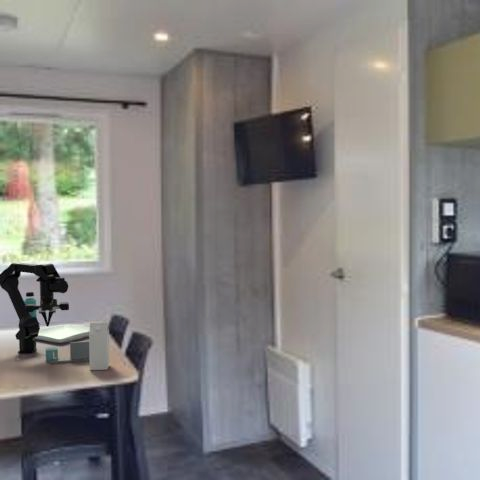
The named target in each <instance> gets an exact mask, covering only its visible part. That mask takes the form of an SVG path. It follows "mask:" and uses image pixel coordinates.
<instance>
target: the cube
mask: <svg viewBox="0 0 480 480" xmlns="http://www.w3.org/2000/svg"><path fill="white" fill-rule="evenodd" d="M50 359H59V347H58V346H49V347H45V362H49V360H50Z"/></svg>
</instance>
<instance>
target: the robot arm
mask: <svg viewBox="0 0 480 480" xmlns="http://www.w3.org/2000/svg"><path fill="white" fill-rule="evenodd" d="M21 273H28V274H34V275H35V276H36V277H38V278H37V279H36V281H35V282H37V283H39V297H40V300H39V305H36V306H34V304H26V305H25V303H24V300H25V299H24V298H23V297H22V293H21V292H20V290H19V283H20V281H19V279H20V277H21ZM65 279H66V278H65V277H61V276H60V274H59V272H58V270H57V268H56V267H55V265H54V264H53V263H43V264H34V263H27V262H26V263H25V262H20V261H19V262H12V263H11V264H10V265H9V266H8V267H7V268H5V269H4V270H3V271H2V272H1V273H0V287H1V289H2V290H4V291H5V292H6V293H7V294H8V297H9V299H10V302H11V303H12V306H13V308H14V311H15V312H16V313H15V314H16V315H17V318H18V319H19V321H18V331H17V333H16V334H15V338H16V340H17V341H18V343H19V344H18V345H19V348H18V349H19V350H18V351H17V353H18V354H21V353H22V354H23V353H24V354H31V353H34V352H35V351H37V350H38V348H37V340H36V339H35V337H38V333H39V329H41V326H40V323H39V321H38V317H37V316H36V317H32V316H30V314H29V312H33V311H34V310H36V311H38V314H41V315H42V319H44V320H43V321H44V322H45V326H46V327H50V323H51V321H52V320H51V319H52V316H53V314H56V312H57V310H58V309H60V311H70V304H69V302H67V301H65V302H62V301H61V302H59V304H58V299H57V298H55V297H54V295H55V294H57V293H59V294H65V293H67V292H68V290H69V284H68V282H67V281H66V280H65ZM47 311H48V313H46V312H47Z"/></svg>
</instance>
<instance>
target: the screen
mask: <svg viewBox="0 0 480 480" xmlns="http://www.w3.org/2000/svg"><path fill="white" fill-rule="evenodd" d="M69 349H70V350H69V351H70V353H69V354H70V357H69V358H70V359H76V358H88V357H89V340H85V341H84V340H83V341H69Z"/></svg>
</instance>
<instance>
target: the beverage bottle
mask: <svg viewBox="0 0 480 480" xmlns="http://www.w3.org/2000/svg"><path fill="white" fill-rule="evenodd" d="M34 296H35V293H34V292H33V291H30V292H29V291H28V292H25V297H26V299H23V300H24V303H25V305H26V304H34V306H37V299H35V298H34ZM27 297H28V298H27ZM37 311H38V310H34V311H33V312H29V314H30V316H32V317H36V318H37V313H38V312H37Z"/></svg>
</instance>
